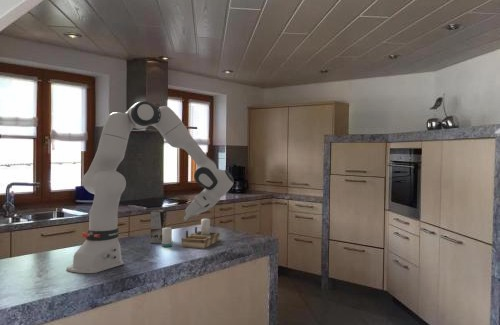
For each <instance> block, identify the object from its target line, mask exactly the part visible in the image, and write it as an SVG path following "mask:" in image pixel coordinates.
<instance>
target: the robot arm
mask: <svg viewBox="0 0 500 325" xmlns="http://www.w3.org/2000/svg"><path fill="white" fill-rule="evenodd" d="M150 126H151V127H154V128H155V129H156V130H157V131H158V132H159V134H160V135H161V137H162V138H163V139H164V141H165V142H166V143H167V144H168V145H170V146H171V147H172V148H176V149H181V150H184V151H186V153H187V154H188V156H189V157H190V158H191V159H192V160H193V162H194V163H195V165H196V168H195V171H194V174H193V178H194V181H195V182H196V184H198V185H199V186H200V187H201V188H203V189H202V191H200V193H198V194H196V195H195V196H194V199H193V200H192V201H191V202H190V203H189V204H188V206H187V207H186V208H185V210H184V213H185V215H184V217H183V220H184V221H188V220H189V219H190V218H191V217H192V218H196V217H198V216H200V214H202V213H205V212H207V211H208V210H209V209H211V208H213V207H214V206H216V205H217V203H218V202H219V201H220V200H221V198H222V197H223V196H225V195H226V194H227V193H228V192H229V191H230V189H231V188H232V187H233V186H234V182H235V180H234V177H233V174H232V173H231V172H230V171H229V170H227V169H219V165H218V163H217V162H216V161H215V160H214V159H212V158H211V157H209V156H208V154H206V153H205V152H204V150H203V149H202V148H201V147H200V145H199V144H198V143H197V142H196V140H195V139H194V138H193V136H192V135H191V133H190V131H189V130H188V128H187V126H186V125H185V124H184V123H183V121H182V119H180V117H179V116H178V115H177V114H176V112H175V111H173V110H172V108H171V107H169V106H167V105H163V106H160V107H158V106H157V105H155V104H152V102H149V101H146V100H142V101H141V100H140V101H138V102H136V103H134V104H133V105H131V106H130V107H129V109H127V111H126V112H124V113H123V112H119V111H115V112H111V113H110V114H108V116H107V118H106V121H105V123H104V125H103V128H102V131H101V134H100V138H99V142H98V145H97V150H96V152H95V155H94V158H93V160H92V161H91V164H90V166H89V168H88V170H87V171H86V173H85V174H84V175H83V177H82V180H81V182H82V187H83V188H84V189H85V190H86V191H87V192H88V193H90V194H93V195H94V196H93V202H92V205H91V207H90V208H89V210H88V212H89V213H88V215H89V219H88V223H89V226H88V229H87V232H84V231H82V233H81V237H82V238H85V241H84V242H83V243H82V245H81V246H80V247H79V248H78V249H77V250H76V252H74V255H73V260H72V262H73V263H72V264H71V265H69V266H67V267H66V271H68V272H70V273H77V274H96V273H100V272H103V271H105V270H106V271H107V270H109V269H112V268H116V267H119V266H122V265H124V261H123V260H122V251H121V250H122V249H121V244H120V242H119V238H118V237H119V233H120V232H119V227H118V215H119V214H118V211H119V205H120V201H121V197H122V194H123V192H124V191H125V189H126V187H127V181H126V178H125V176H124V175H123V174H121V173H120V172H119V171H117V169H118V167H119V165H120V164H121V162H122V161H123V160H124V159H125V155H126V151H127V146H128V143H129V142H128V141H129V139H130V134H131V132H132V130H133V131H138V130H143V129H147V128H149V127H150Z"/></svg>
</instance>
